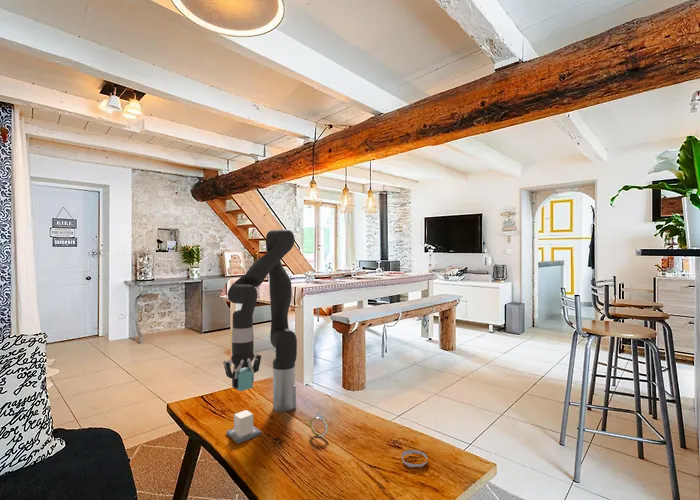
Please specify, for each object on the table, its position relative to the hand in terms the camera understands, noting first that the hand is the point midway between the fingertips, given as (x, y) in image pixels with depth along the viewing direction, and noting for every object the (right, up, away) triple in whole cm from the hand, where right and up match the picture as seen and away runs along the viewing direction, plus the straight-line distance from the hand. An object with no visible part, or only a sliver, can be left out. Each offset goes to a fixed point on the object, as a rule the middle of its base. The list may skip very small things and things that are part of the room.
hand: (242, 386), depth 130 cm
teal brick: (0, 0, 0) cm, 0 cm away
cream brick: (0, -16, 0) cm, 16 cm away
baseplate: (0, -17, 0) cm, 17 cm away
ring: (+28, -17, -2) cm, 33 cm away
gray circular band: (+59, -17, -18) cm, 64 cm away
